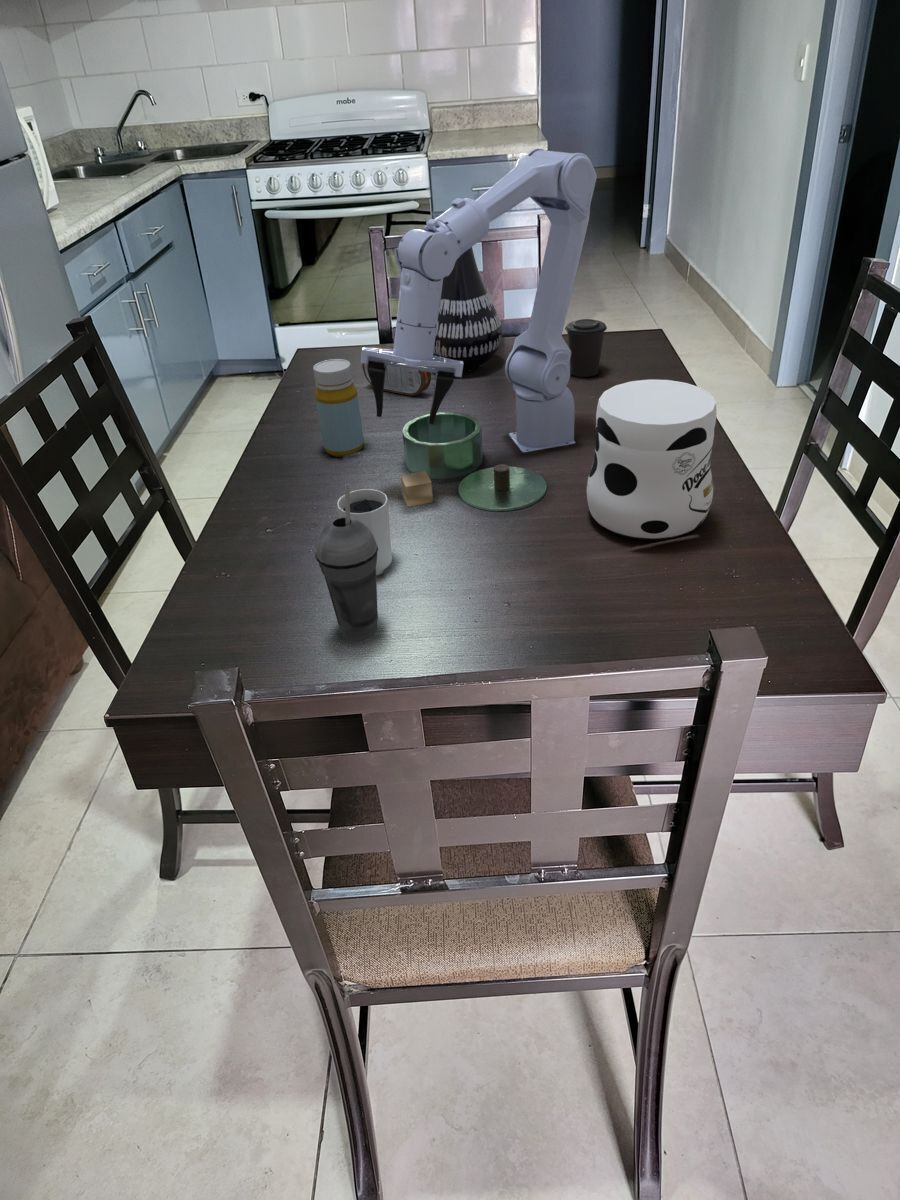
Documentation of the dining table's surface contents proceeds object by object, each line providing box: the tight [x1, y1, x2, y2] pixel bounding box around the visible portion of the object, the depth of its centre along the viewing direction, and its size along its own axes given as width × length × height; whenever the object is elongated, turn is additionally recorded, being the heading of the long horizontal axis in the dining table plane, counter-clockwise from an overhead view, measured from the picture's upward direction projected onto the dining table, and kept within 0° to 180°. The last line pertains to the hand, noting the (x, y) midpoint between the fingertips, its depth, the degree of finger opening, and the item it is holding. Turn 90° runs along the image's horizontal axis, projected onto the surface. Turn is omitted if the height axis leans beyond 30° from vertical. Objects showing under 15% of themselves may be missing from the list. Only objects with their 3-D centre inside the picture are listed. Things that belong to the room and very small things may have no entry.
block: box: [399, 471, 434, 508], centre depth 127 cm, size 4×4×4 cm
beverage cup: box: [315, 484, 379, 642], centre depth 97 cm, size 7×7×20 cm
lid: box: [457, 463, 547, 512], centre depth 128 cm, size 14×14×4 cm
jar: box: [401, 411, 484, 480], centre depth 137 cm, size 13×13×6 cm
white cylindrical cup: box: [336, 488, 393, 576], centre depth 112 cm, size 7×7×10 cm
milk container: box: [586, 379, 717, 542], centre depth 115 cm, size 17×17×18 cm
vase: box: [433, 246, 503, 373], centre depth 166 cm, size 16×16×30 cm
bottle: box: [312, 358, 365, 458], centre depth 141 cm, size 7×7×15 cm
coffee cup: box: [564, 318, 608, 378], centre depth 164 cm, size 8×8×10 cm
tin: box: [361, 345, 432, 397], centre depth 163 cm, size 15×3×8 cm, turn 58°
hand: (405, 418), depth 123 cm, fingers open, 7 cm apart
